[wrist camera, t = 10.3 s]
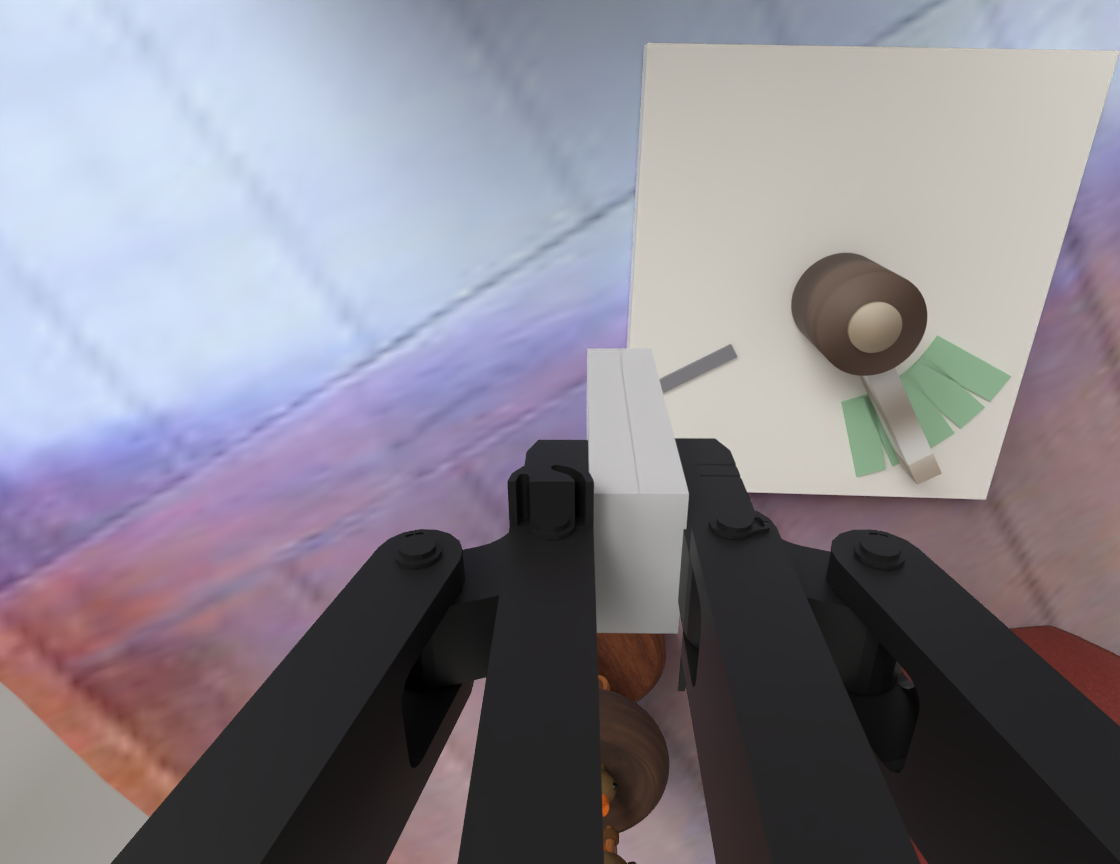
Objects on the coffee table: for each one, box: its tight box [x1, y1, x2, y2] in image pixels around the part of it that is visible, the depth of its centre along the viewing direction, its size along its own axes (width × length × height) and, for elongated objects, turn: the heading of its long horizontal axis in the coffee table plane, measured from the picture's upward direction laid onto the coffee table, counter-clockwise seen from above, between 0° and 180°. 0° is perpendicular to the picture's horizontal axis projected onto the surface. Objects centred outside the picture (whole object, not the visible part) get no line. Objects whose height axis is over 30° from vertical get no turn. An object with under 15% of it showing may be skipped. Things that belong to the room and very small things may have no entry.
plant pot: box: [901, 626, 1120, 864], centre depth 45 cm, size 19×19×17 cm
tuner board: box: [626, 43, 1120, 499], centre depth 40 cm, size 24×22×3 cm
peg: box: [791, 253, 942, 485], centre depth 38 cm, size 14×5×5 cm, turn 31°
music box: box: [597, 633, 669, 864], centre depth 43 cm, size 15×11×20 cm
